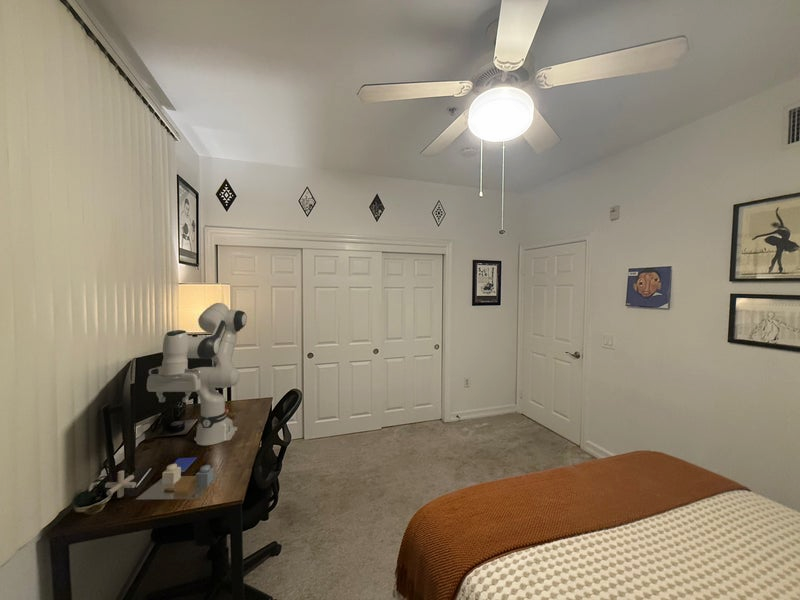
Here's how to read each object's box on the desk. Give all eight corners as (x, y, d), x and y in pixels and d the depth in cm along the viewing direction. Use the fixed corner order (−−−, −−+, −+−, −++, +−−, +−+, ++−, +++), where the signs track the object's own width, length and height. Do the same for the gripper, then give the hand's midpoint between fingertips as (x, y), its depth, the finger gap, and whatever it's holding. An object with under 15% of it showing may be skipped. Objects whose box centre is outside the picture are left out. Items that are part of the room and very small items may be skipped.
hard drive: (184, 471, 134) (197, 457, 146) (162, 472, 132) (178, 458, 144) (183, 474, 134) (197, 460, 146) (162, 476, 132) (177, 461, 144)
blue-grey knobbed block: (202, 478, 129) (203, 464, 129) (213, 478, 129) (213, 464, 129) (196, 484, 125) (196, 470, 125) (207, 484, 125) (207, 469, 125)
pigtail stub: (168, 486, 123) (168, 476, 123) (196, 486, 123) (197, 476, 123) (158, 495, 118) (158, 484, 118) (188, 495, 118) (188, 484, 118)
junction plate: (164, 478, 130) (164, 475, 130) (217, 477, 131) (217, 475, 131) (135, 501, 115) (135, 498, 115) (195, 500, 116) (196, 497, 116)
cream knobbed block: (169, 477, 129) (170, 463, 129) (180, 477, 129) (180, 463, 130) (162, 483, 125) (162, 468, 125) (173, 483, 125) (173, 468, 125)
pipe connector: (144, 490, 122) (145, 464, 122) (122, 507, 112) (123, 479, 112) (118, 490, 121) (118, 464, 122) (94, 507, 112) (94, 479, 112)
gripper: (204, 367, 135) (203, 399, 134) (155, 367, 134) (154, 399, 133) (195, 370, 128) (194, 404, 128) (144, 370, 127) (143, 404, 127)
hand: (173, 401), depth 130 cm, fingers open, 8 cm apart
